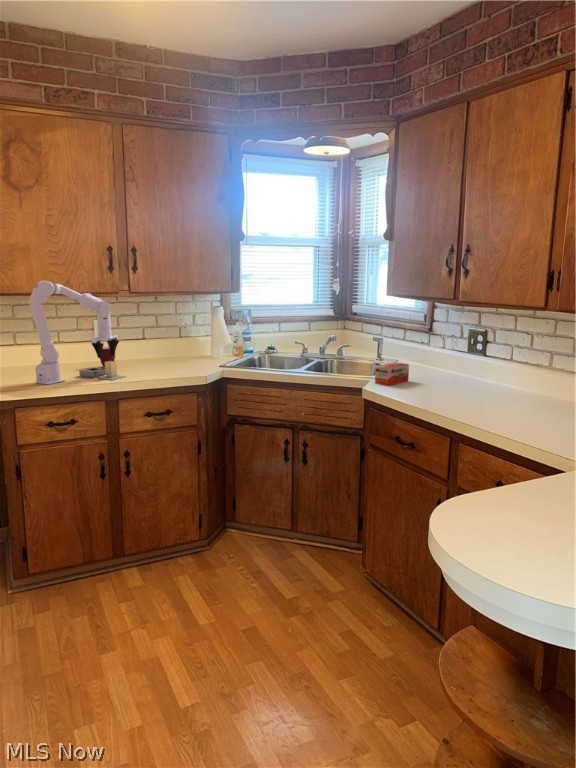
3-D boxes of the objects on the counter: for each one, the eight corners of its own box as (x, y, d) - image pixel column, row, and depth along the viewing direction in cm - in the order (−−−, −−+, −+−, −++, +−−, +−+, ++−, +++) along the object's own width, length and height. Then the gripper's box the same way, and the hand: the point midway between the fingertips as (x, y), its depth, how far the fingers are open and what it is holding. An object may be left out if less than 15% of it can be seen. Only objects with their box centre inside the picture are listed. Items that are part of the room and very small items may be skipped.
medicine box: (393, 378, 252) (394, 361, 251) (408, 381, 247) (409, 363, 245) (374, 383, 242) (374, 365, 240) (389, 386, 236) (390, 368, 235)
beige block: (111, 377, 250) (110, 362, 249) (105, 377, 252) (104, 362, 250) (117, 376, 253) (116, 361, 252) (111, 375, 255) (110, 361, 253)
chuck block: (94, 378, 251) (93, 371, 251) (79, 376, 255) (79, 370, 255) (108, 374, 259) (108, 368, 259) (94, 373, 263) (93, 367, 263)
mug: (105, 364, 286) (104, 345, 284) (120, 365, 285) (119, 346, 283) (96, 368, 276) (95, 348, 274) (112, 368, 275) (110, 349, 273)
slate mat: (112, 380, 247) (112, 379, 247) (97, 378, 251) (97, 377, 250) (126, 376, 255) (126, 376, 254) (111, 375, 258) (111, 374, 258)
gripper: (98, 329, 242) (100, 359, 245) (122, 326, 255) (124, 355, 258) (87, 328, 245) (89, 358, 248) (111, 325, 258) (112, 354, 261)
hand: (106, 356), depth 253 cm, fingers open, 7 cm apart
